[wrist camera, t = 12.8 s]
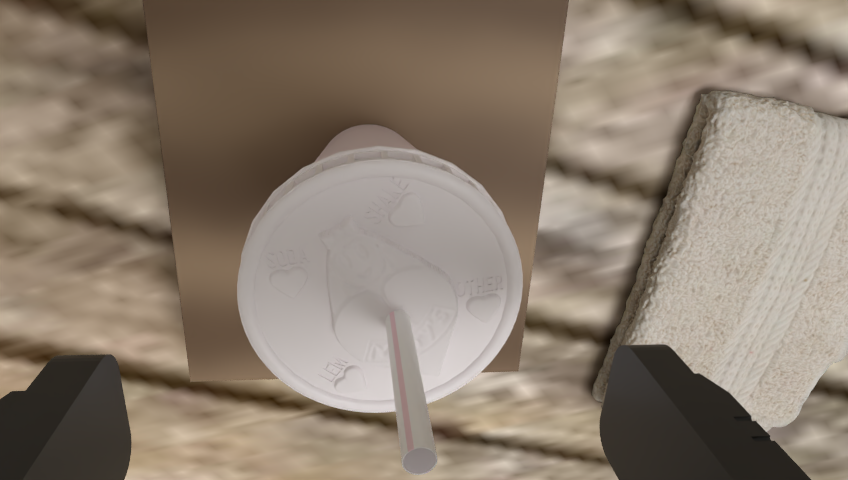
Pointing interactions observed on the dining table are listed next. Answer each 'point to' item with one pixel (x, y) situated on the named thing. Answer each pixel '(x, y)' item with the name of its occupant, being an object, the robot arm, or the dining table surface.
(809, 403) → the dining table surface
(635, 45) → the dining table surface
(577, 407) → the dining table surface
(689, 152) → the washcloth
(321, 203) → the smoothie
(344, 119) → the walnut base
